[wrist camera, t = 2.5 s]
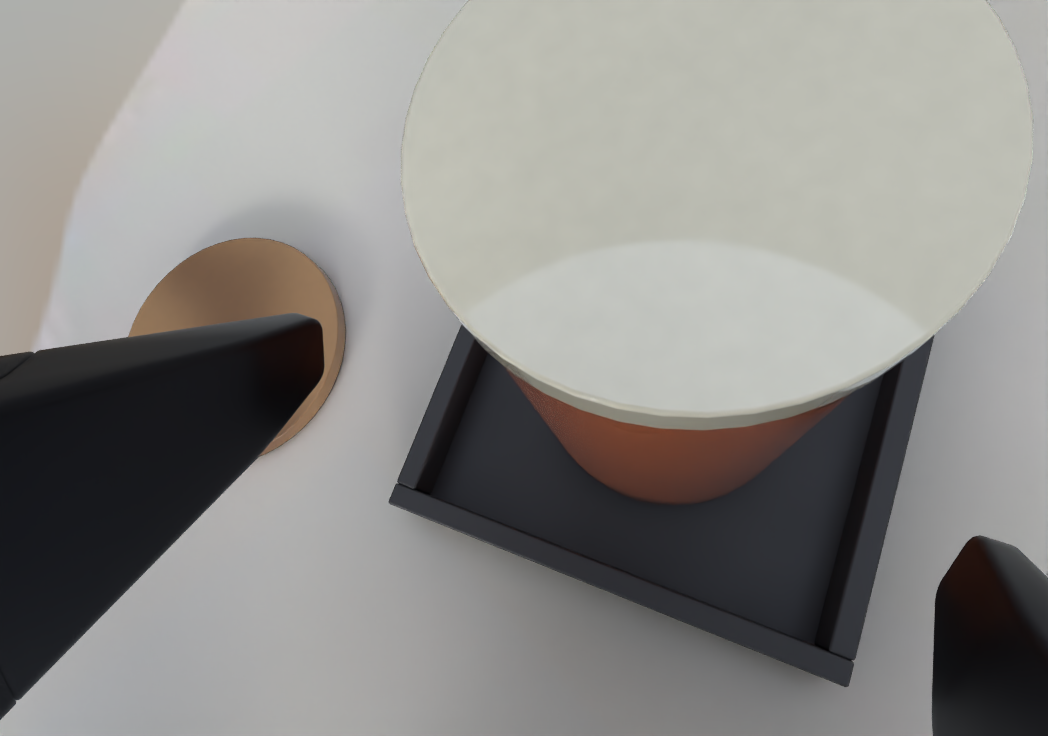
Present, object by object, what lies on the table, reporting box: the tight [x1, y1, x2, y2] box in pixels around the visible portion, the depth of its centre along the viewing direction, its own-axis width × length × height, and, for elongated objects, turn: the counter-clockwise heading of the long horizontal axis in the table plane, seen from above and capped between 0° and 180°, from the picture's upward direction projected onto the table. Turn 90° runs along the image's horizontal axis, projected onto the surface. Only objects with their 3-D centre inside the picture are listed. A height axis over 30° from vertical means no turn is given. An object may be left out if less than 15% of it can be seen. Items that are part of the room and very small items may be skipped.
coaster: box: [128, 238, 345, 456], centre depth 22 cm, size 8×8×1 cm
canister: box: [401, 0, 1033, 506], centre depth 14 cm, size 7×7×12 cm
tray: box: [389, 325, 935, 687], centre depth 19 cm, size 12×12×2 cm
